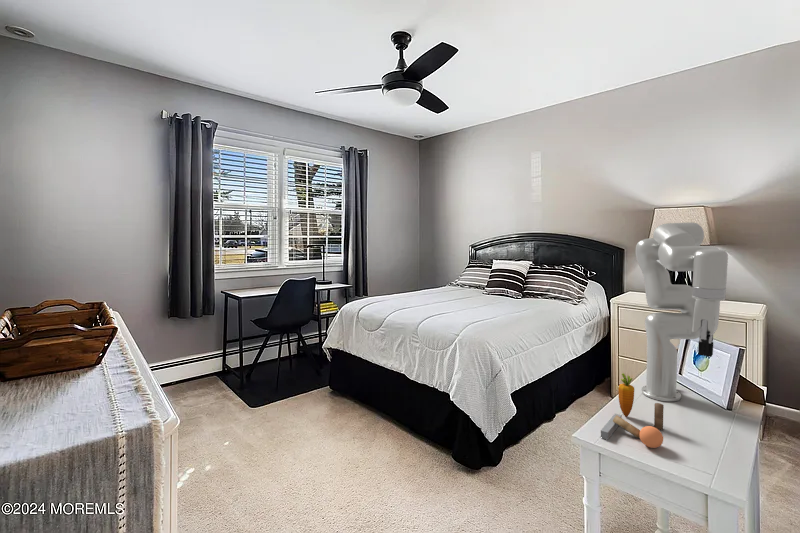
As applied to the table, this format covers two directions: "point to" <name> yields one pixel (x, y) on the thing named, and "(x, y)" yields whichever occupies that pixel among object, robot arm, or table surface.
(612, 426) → the back wall
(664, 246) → the robot arm
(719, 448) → the table surface
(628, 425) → the oak pin
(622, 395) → the carrot
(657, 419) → the walnut pin
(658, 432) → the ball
